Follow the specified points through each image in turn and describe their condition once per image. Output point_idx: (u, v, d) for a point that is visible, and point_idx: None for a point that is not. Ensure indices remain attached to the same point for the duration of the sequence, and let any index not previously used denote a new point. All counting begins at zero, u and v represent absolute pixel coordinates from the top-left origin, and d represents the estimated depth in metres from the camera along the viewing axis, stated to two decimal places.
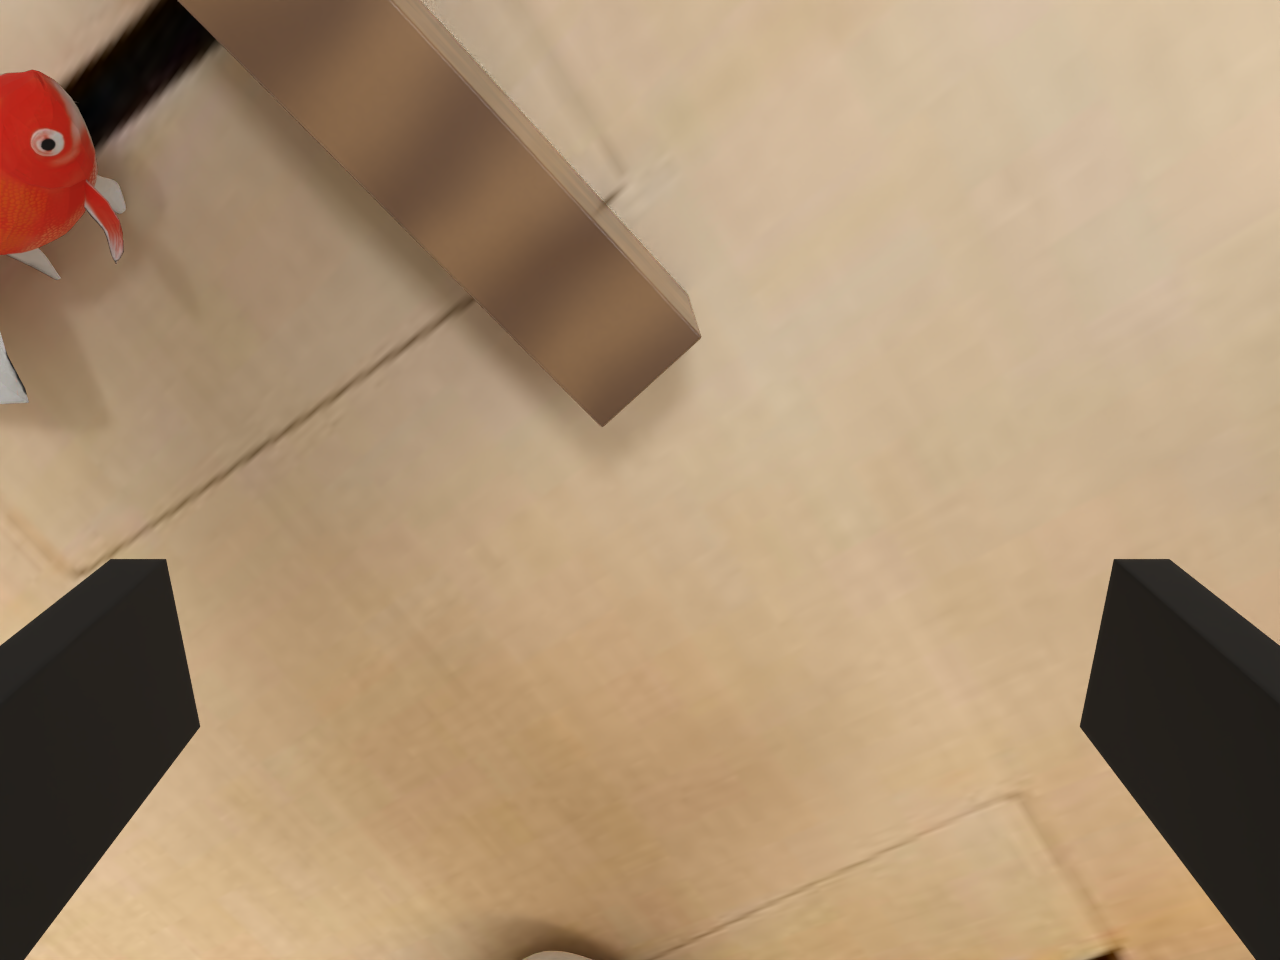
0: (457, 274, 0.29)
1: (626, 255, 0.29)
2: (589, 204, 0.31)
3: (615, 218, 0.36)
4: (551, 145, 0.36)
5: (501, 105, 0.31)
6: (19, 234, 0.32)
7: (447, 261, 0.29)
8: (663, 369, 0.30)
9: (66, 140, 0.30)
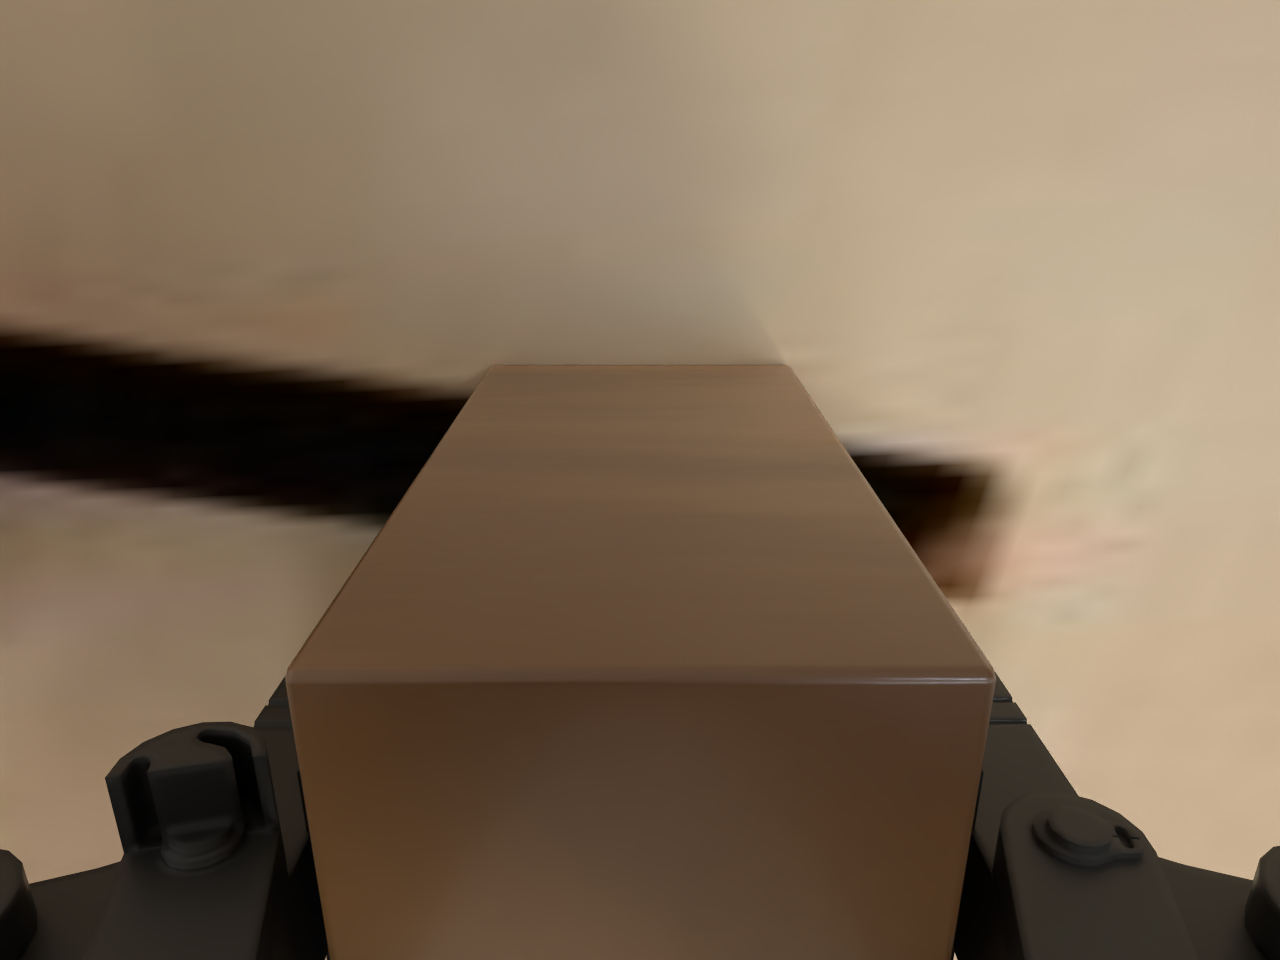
0: None
1: None
2: None
3: None
4: None
5: None
6: None
7: None
8: None
9: None
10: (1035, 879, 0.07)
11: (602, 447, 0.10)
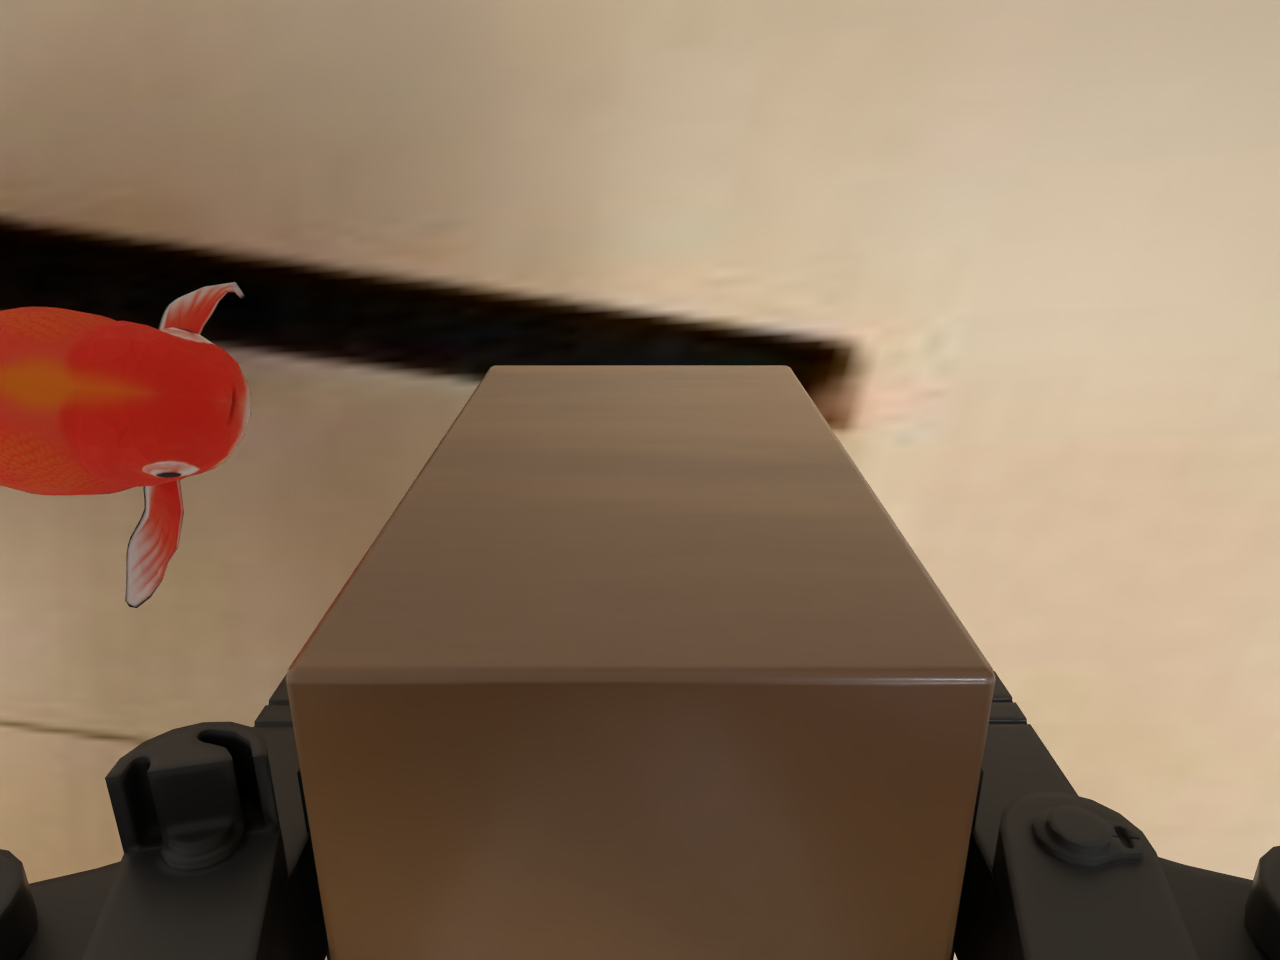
0: None
1: None
2: None
3: None
4: None
5: None
6: (22, 489, 0.19)
7: None
8: None
9: (198, 472, 0.19)
10: (1035, 880, 0.07)
11: (603, 448, 0.10)
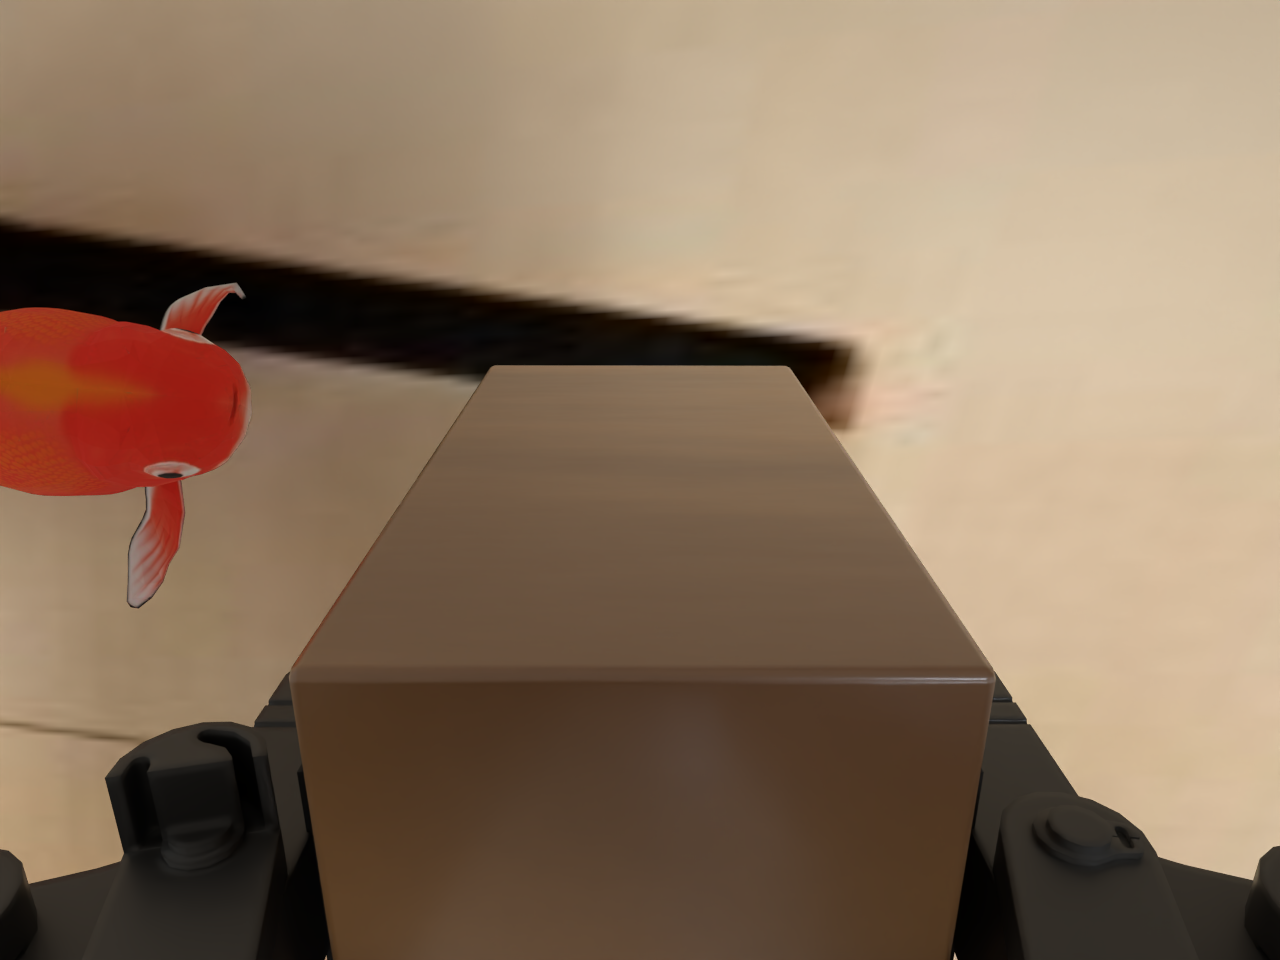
0: None
1: None
2: None
3: None
4: None
5: None
6: (24, 490, 0.19)
7: None
8: None
9: (199, 472, 0.19)
10: (1035, 879, 0.07)
11: (603, 448, 0.10)
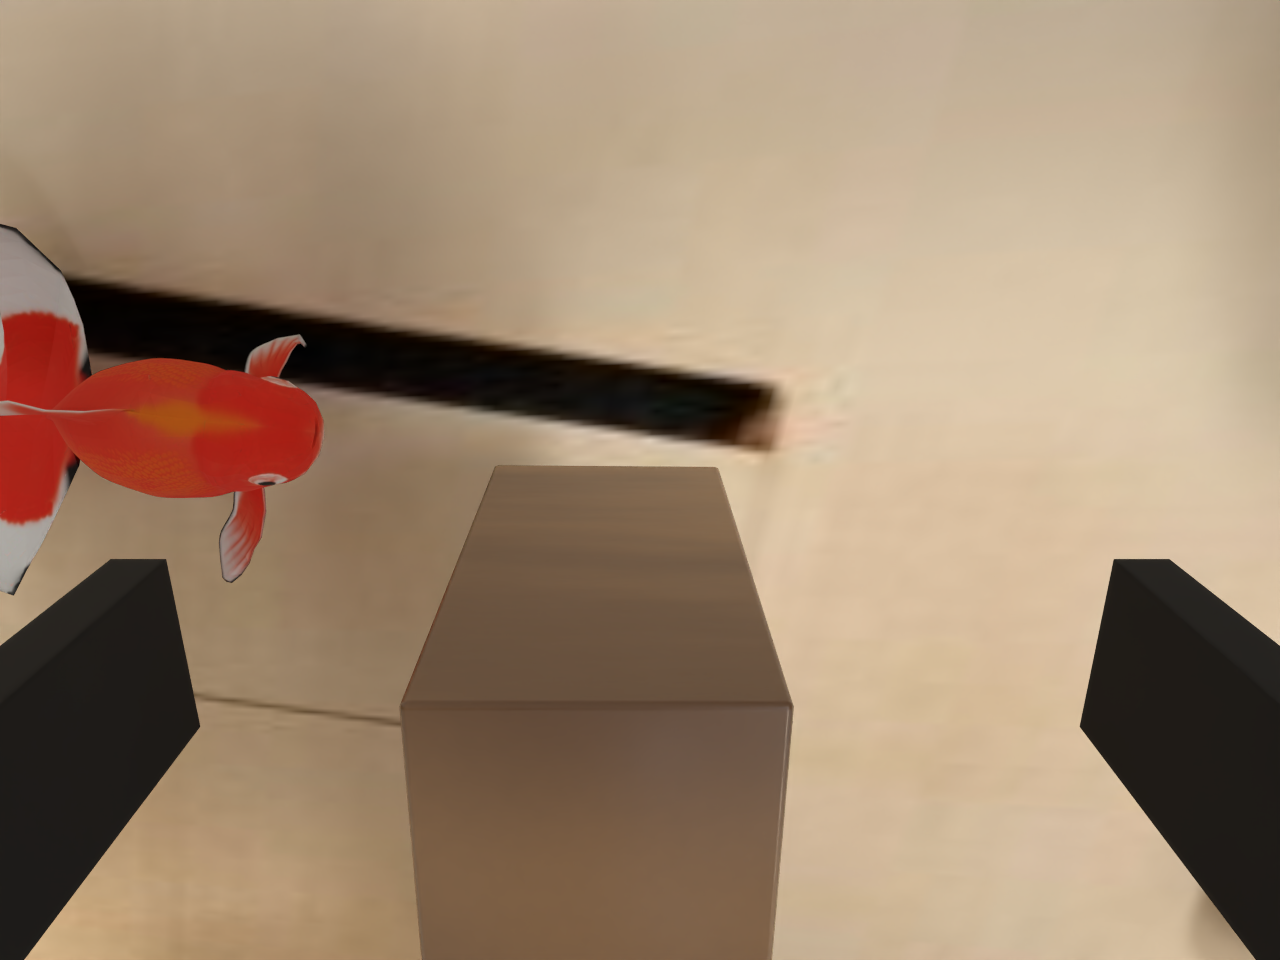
0: None
1: None
2: None
3: None
4: None
5: None
6: (152, 493, 0.26)
7: None
8: None
9: (285, 481, 0.26)
10: None
11: (578, 545, 0.15)
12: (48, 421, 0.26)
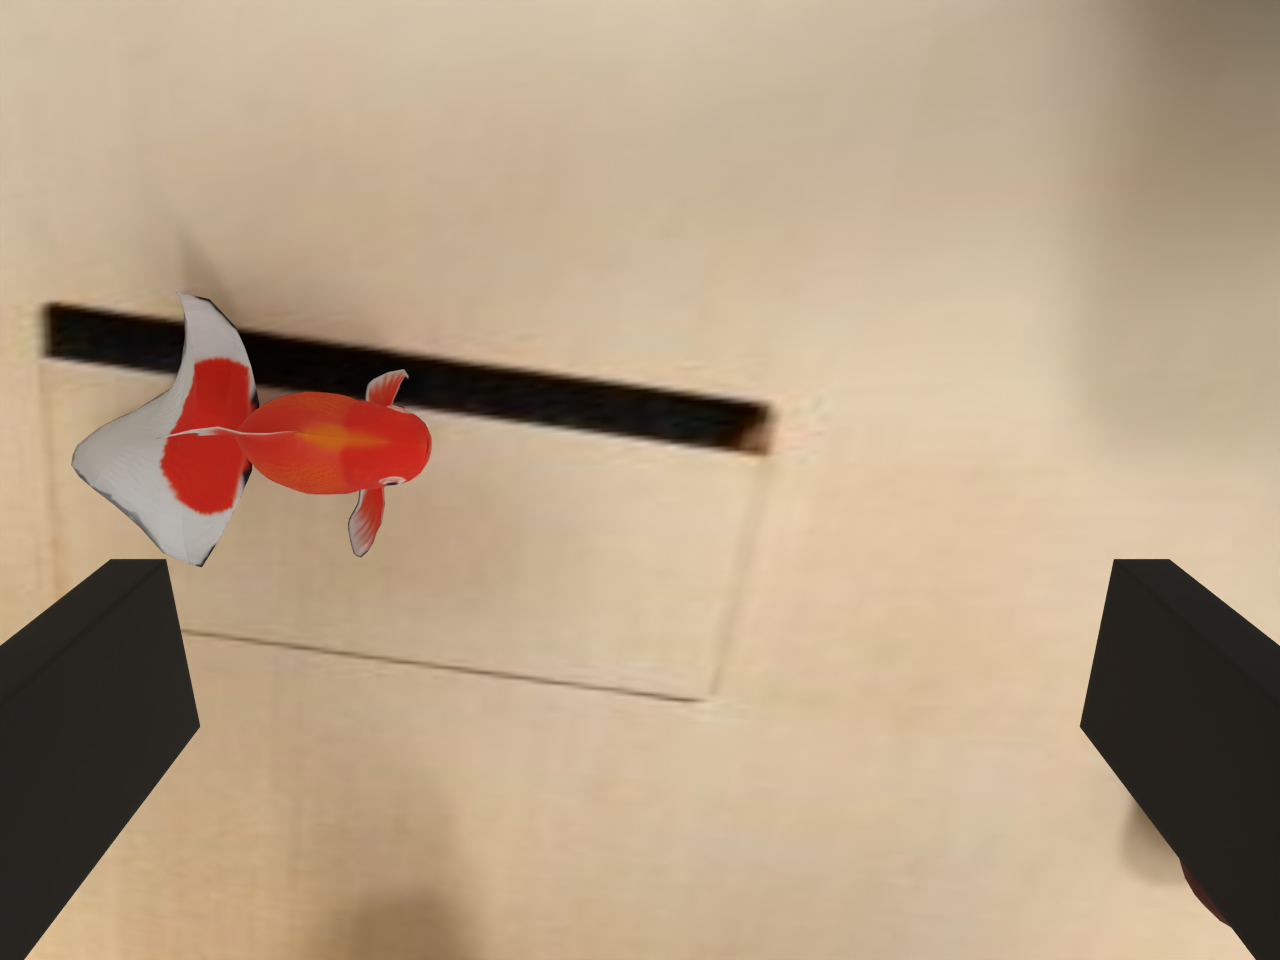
0: None
1: None
2: None
3: None
4: None
5: None
6: (305, 491, 0.35)
7: None
8: None
9: None
10: None
11: None
12: (228, 438, 0.36)
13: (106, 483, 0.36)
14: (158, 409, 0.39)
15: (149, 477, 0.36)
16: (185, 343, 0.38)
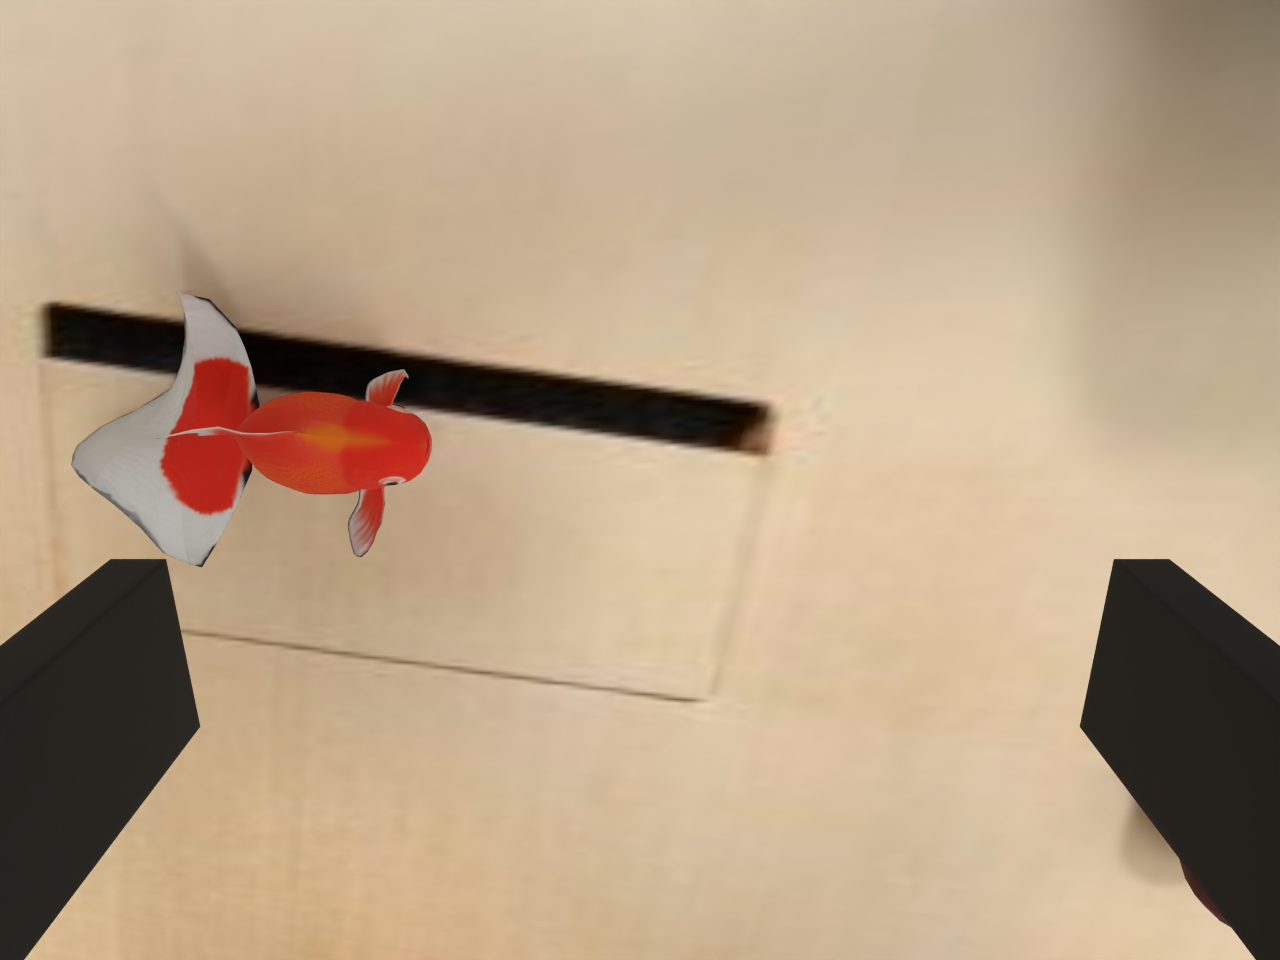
0: None
1: None
2: None
3: None
4: None
5: None
6: (305, 491, 0.35)
7: None
8: None
9: None
10: None
11: None
12: (228, 438, 0.36)
13: (106, 483, 0.36)
14: (158, 409, 0.39)
15: (149, 477, 0.36)
16: (185, 343, 0.38)
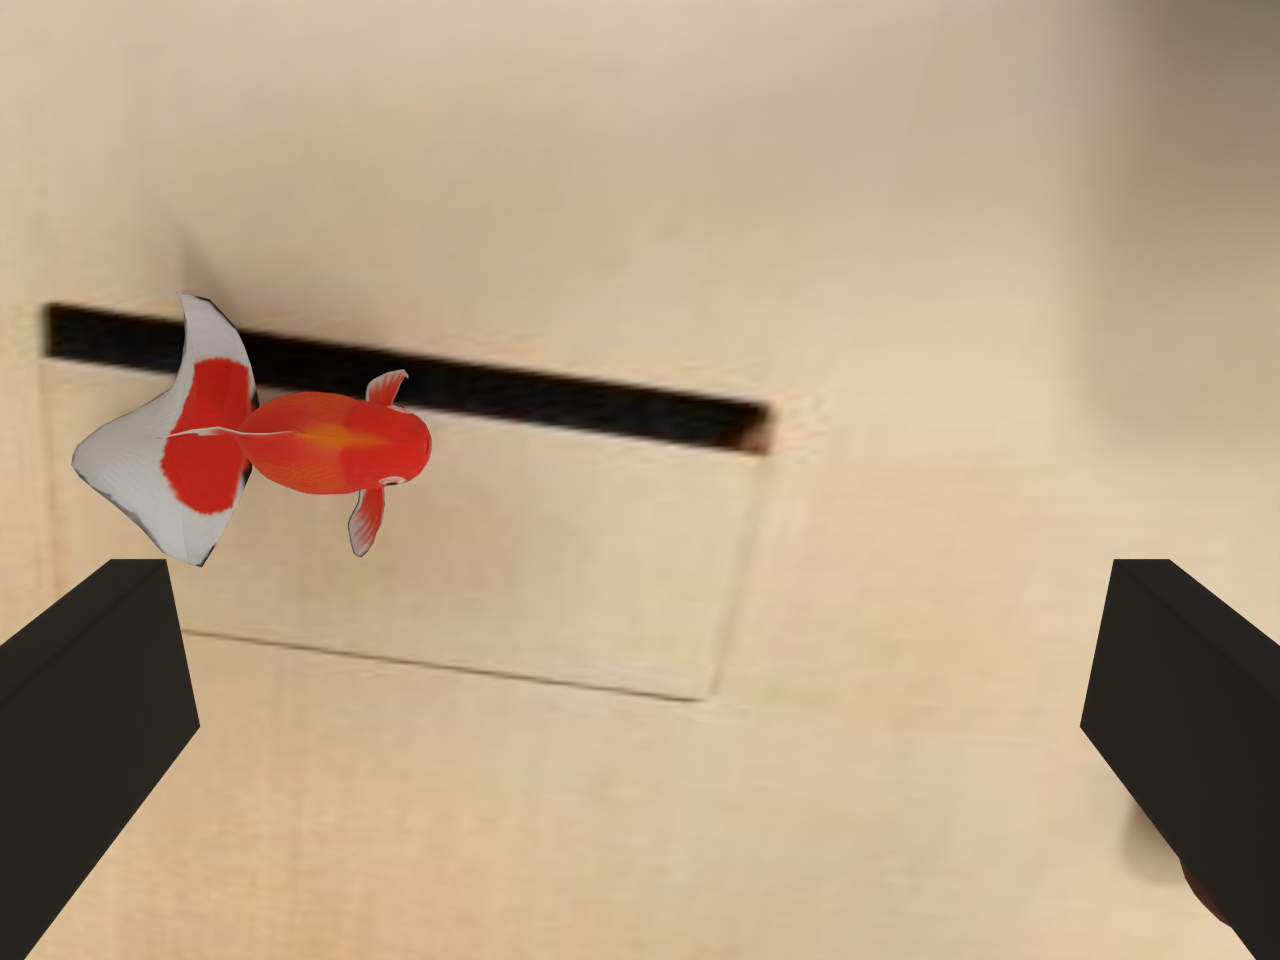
0: None
1: None
2: None
3: None
4: None
5: None
6: (305, 491, 0.35)
7: None
8: None
9: None
10: None
11: None
12: (228, 438, 0.36)
13: (106, 483, 0.36)
14: (158, 409, 0.39)
15: (149, 477, 0.36)
16: (185, 343, 0.38)
